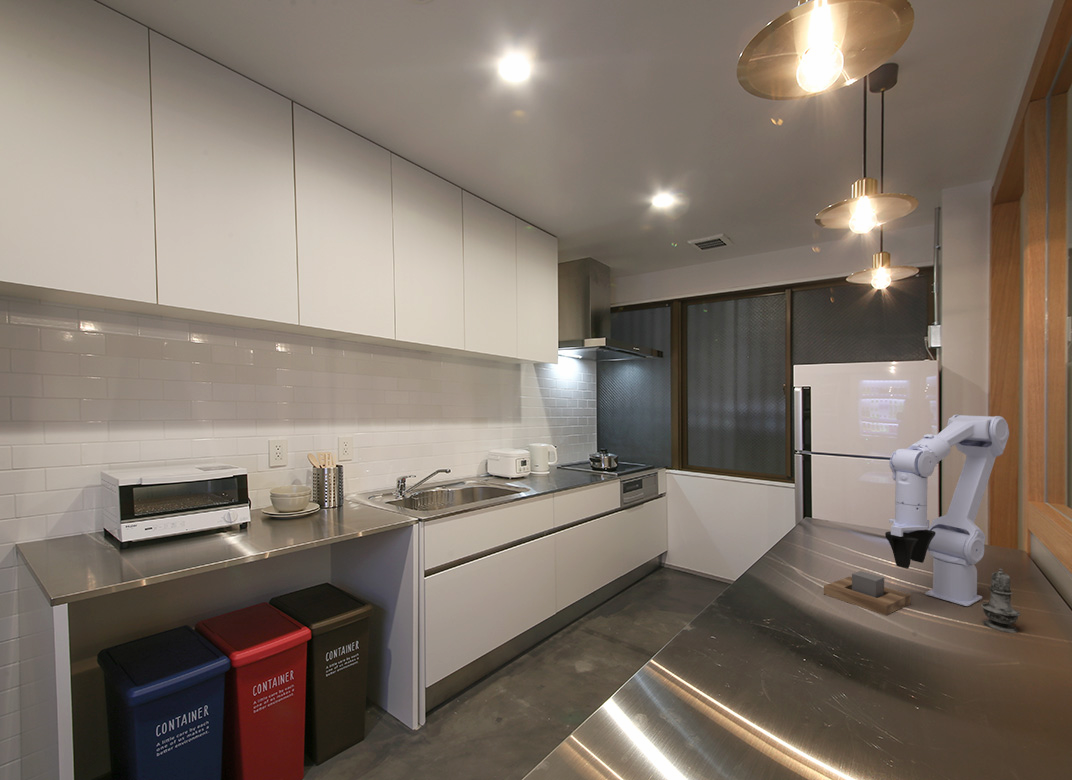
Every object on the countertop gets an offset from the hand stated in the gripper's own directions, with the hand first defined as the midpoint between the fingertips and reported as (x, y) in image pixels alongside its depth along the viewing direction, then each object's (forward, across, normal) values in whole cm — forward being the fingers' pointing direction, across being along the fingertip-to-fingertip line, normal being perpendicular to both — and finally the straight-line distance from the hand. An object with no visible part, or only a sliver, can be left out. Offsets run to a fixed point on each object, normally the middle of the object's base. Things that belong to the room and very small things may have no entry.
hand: (910, 564), depth 111 cm
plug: (+10, +4, -7) cm, 12 cm away
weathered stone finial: (+10, -5, +14) cm, 18 cm away
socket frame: (+9, +4, -7) cm, 12 cm away
